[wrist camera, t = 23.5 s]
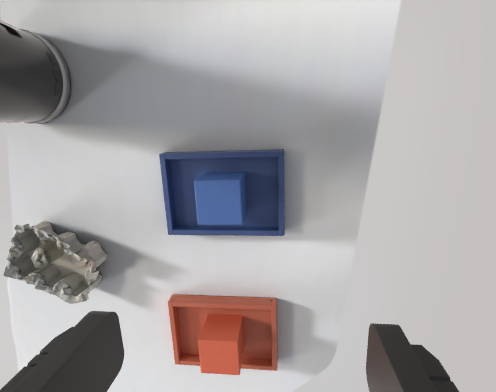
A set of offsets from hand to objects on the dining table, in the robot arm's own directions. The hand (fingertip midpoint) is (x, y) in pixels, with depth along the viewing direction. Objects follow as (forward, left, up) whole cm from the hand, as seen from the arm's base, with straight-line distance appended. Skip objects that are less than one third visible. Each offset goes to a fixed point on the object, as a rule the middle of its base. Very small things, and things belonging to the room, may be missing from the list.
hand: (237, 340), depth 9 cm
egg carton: (-26, -9, -24) cm, 37 cm away
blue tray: (-5, -1, -24) cm, 25 cm away
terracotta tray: (-6, -19, -24) cm, 31 cm away
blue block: (-5, -1, -24) cm, 24 cm away
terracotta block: (-6, -19, -24) cm, 31 cm away
